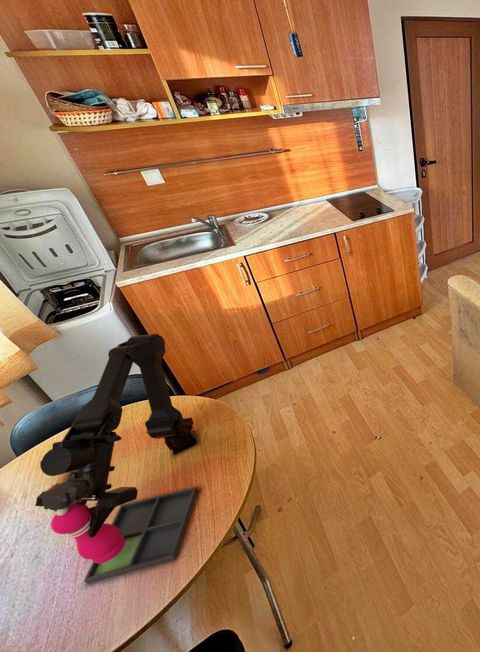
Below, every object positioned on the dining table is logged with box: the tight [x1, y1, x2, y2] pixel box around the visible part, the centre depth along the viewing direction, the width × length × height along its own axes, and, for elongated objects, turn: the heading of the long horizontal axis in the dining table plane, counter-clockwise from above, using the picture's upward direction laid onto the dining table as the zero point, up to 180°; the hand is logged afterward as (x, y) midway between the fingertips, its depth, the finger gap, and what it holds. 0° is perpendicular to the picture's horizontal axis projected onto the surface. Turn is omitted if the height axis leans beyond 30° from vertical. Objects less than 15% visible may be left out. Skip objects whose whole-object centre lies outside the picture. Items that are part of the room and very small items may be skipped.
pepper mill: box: [50, 503, 125, 564], centre depth 86 cm, size 7×7×20 cm
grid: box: [83, 486, 199, 585], centre depth 97 cm, size 18×18×2 cm
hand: (81, 536), depth 84 cm, fingers closed on pepper mill, 5 cm apart
